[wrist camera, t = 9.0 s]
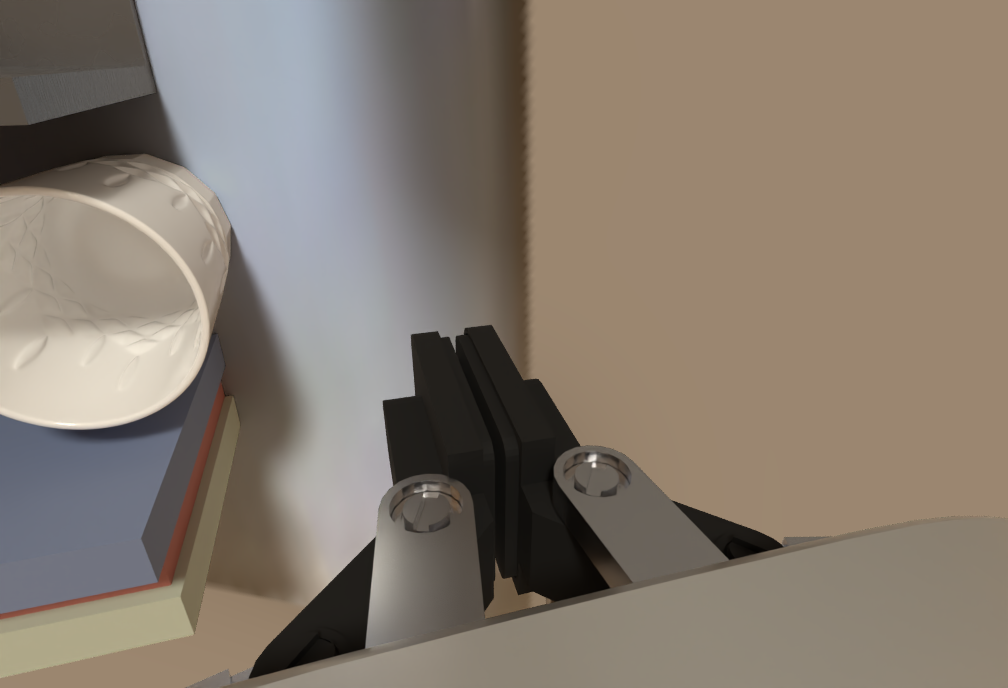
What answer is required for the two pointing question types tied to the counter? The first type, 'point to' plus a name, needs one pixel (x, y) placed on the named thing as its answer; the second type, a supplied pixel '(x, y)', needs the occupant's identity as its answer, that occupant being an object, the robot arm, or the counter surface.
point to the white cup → (106, 289)
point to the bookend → (69, 58)
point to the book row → (111, 527)
